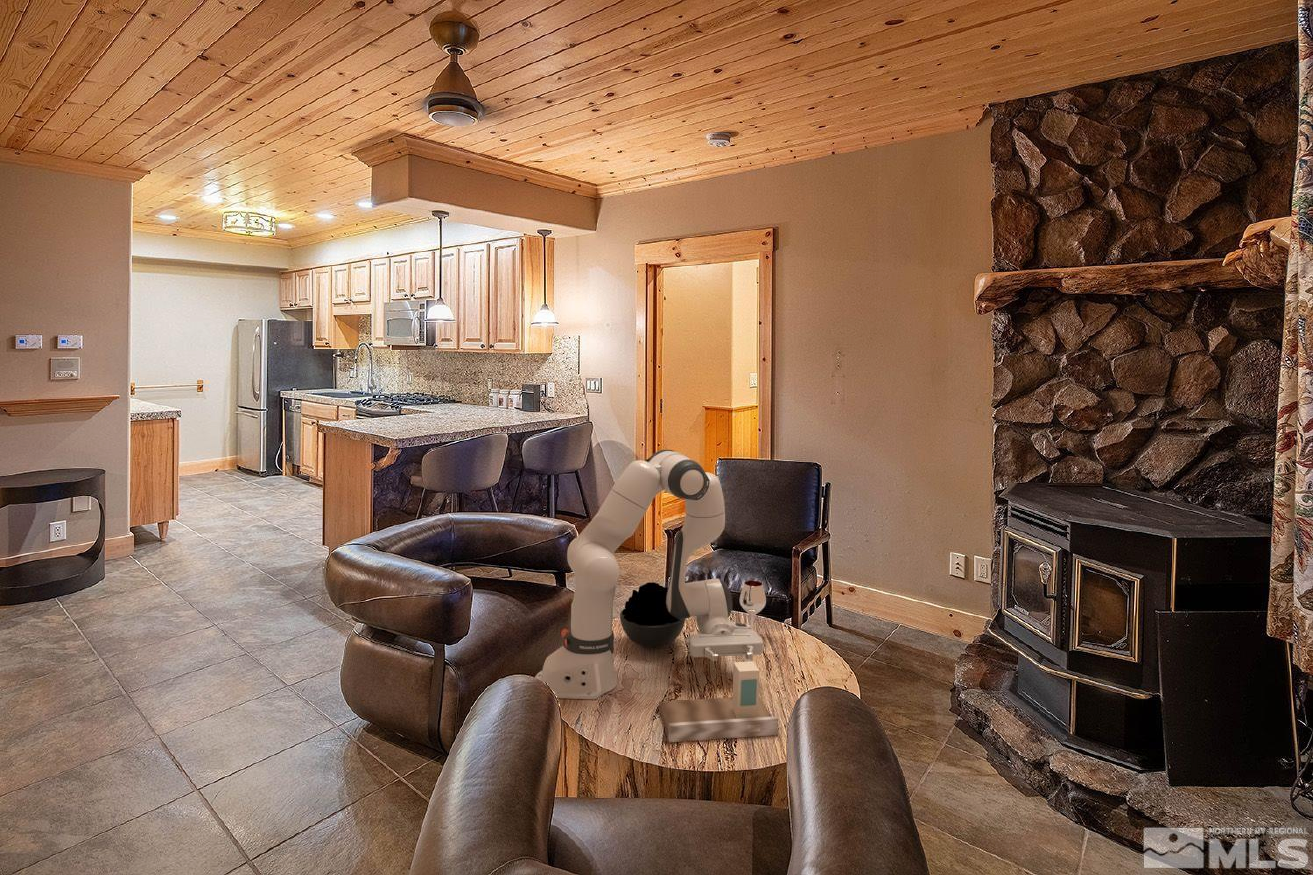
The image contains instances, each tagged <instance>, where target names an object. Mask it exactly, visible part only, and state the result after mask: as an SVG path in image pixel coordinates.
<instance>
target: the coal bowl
mask: <svg viewBox="0 0 1313 875" xmlns="http://www.w3.org/2000/svg"><path fill="white" fill-rule="evenodd" d="M667 591H668V587H666V586H665V587H664V586H663V585H661V584H659V583H657V582H654V581H652V582H651V581H648V582H647V583H645V584H643V585H640V586H638V591H637V590H636V589H633V590H632V594H631V595H630V597H629V598H628V600H626V601H625V602H624V608H623V609H622V610H621V611H620V613H619V618H620V624H621V627H622V630H623V631H624V633H625V635H626V636H627V638H628V639H629V640H630V641H632V642H633V643H634V644H636V645H638V646H640V647H642V648H645V649H650V650H651V649H652V650H653V649H654V650H655V649H661V648H665V647H666V646H668V645H670V644H672V643H673V642H675V641H676V639H677V638H679V636H680V634H681V633H682V631H683V630H684V627H685V624H686V623H685V622H686V619H682V620H679V619H677V618H675V617H674V616H672V615H671V614H670V613H669V612H668V609H667V605H666V597H667Z"/></svg>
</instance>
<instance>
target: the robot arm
mask: <svg viewBox="0 0 1313 875" xmlns="http://www.w3.org/2000/svg"><path fill="white" fill-rule="evenodd" d="M662 491H664V492H666V493H668V494H670V495H673V496H674V497H676V498H678V499H681V500H684V501H685V506H684V507H685V518H684V523H683V525H682V527H681V529H680V530H678V532H676V534H675V537H674V540H673V546H672V554H671V562H670V574H669V582H668V587H667V588H668V591H667V597H666V605H667V609H668V612H669V613H670V614H671V615H672V616H674V617H675V618H677V619H679V620H682V619H685V620H686V619H690V618H691V617H695V624H696V627H697V630H698V632H699V633H698V634H690V636H688V637H686V638H685V639H684V642H685V644H686V646H688V653H689V655H690V656H691V658H707V659H709V660H711V662H718V660H719V659H718V657H735V656H745V659H746V660H747V661H748V660H750V661H751V660H753V659H754V656H755V655H759V656H760V655H762V654H763V653H764V648H765V646H764V640H763V638H762V637H761V635H759V634H758V632H756V631H755V630H754V629H753V630H751V624H748V623H741V622H739V623H738V622H734V621H731V620H728V618H730V616H731V613H732V612H733V598H732V592H731V590H730V588H729V586H728V584H727V583H725V581H724V580H722V579H720V578H718V577H717V578H711V579H710V578H708V579H703V580H697V581H691V582H686V576H687V575H686V573H687V566H688V565H687V564H688V561H689V558H690V557H691V556H692V554H694V553H695V552H696V551H698V550H700V549H701V548H704V547H706V546H707V545H709V544H711V543H713V542H714V541H716V540H717V539H718V538H719V537H720V536H721V535H722V533H723V532H724V530H725V526H726V510H725V509H726V508H725V498H724V493H723V488H722V485H721V481H720V479H719V477H718V476H717V475H716V474H714V473H712V472H708V471H707V472H706V471H705V470H704V468H703V467H702V465H700V464H699V463H698V462H697V461H695V460H692V459H691V458H689V457H688V456H687V455H686V454H684V453H681V452H678V451H675V450H674V449H673V450H672V449H660V450H658V451H655V452H654V453H653V454H652V455H651V456H649V457H648V458H646V459H645V460H641V459H640V460H639V459H638V460H634V461H632V462H631V463H630V464H628V466H627V467H626V468H625V469H624V470H623V472H622V473H621V474H620V476H619V477H618V478H617V480H616V481H615V482H614V484H613V486H612V487H611V489H610V491H609V493H607V496H606V497H605V500H604V501H603V503H602V505H601V506H600V507H599V510H598V511H597V512H596V514H595V515H594V517H593V518H592V519H591V521H589V523H588V524H587V525H586V526H585V528H583V529H582V531H581V532H580V533H579V535H578V536H577V537H575V538H574V539H573V540H571V541H570V543H569V545H568V548H567V553H566V554H567V555H566V556H567V564H568V566H569V567H570V569H571V571H572V572H573V574H574V579H575V580H574V581H575V582H574V584H575V588H574V594H573V600H572V602H571V606H570V608H571V609H570V611H571V612H570V613H571V614H570V631H569V630H568V629H567V628H564V629H562V630H561V637H562V642H563V645H561V646H560V647H559V648H557V650H556V649H555V651H554V652H552V653H551V654H549V655H548V656H547V657H546V658H545V660H544V664H543V666H542V670H540V671H539V672H538V673H537V674H536V675H535V676H534V679H535V678H537V679H539V680H541V681H542V682H546V683H548V686H549V687H550V688H551V689H552V690H553V691H554V692H555V695H556V696H557V698H556V699H573V700H579V699H580V700H596V699H598V698H600V697H601V696H602V695H603V694H606V693H608V692H610V691H612V690H614V689H615V688H616V687H617V686H618V683H619V679H618V677H617V674H616V673H617V672H616V669H615V662H614V650H615V634H614V631H613V618H614V617H613V613H614V610H613V609H614V601H615V600H614V599H615V594H616V589H617V584H618V582H619V581H620V577H621V576H620V575H621V571H620V564H619V562H618V559H617V558H616V556H615V555H614V554H615V552H616V551H617V550H618V548H620V546H621V545H622V544H623V543H624V542H625V541H626V540H628V538H631V537H632V536H633V535H634V533H635V532H636V530H637V528H638V526H639V524H640V523H641V521H642V519H643V517H644V516H645V514H646V512H647V510H648V509H649V507H650V505H651V503H652V501H653V500H654V499H655V497H656V496H657V495H658V494H660V493H661V492H662Z"/></svg>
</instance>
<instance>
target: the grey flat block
mask: <svg viewBox="0 0 1313 875" xmlns="http://www.w3.org/2000/svg"><path fill="white" fill-rule="evenodd" d="M732 697H733V696H731V697H715V698H714V697H713V698H700V699H699V698H698V699H697V698H696V699H681V700H680V699H679V700H664V701H663V700H662V701H659V702H658V711H659V714H660V716H661V720H662V724H663V726H664V730H665V733H666V736H667V739H668V742H669V743H676V742H693V741H695V742H696V741H708V740H722V739H723V738H725V739H736V738H751V737H752V738H753V737H765V736H766V737H767V736H778V735H779V717H778V716H775V715H771V713H770V711H769V710H768V708H767V707H766V705H765V704H764V703H765V702H764V701H763V700H762V698H761V696H760V695H758V718H742V719H737V717H736V715H735V713H734V711H733V709H732ZM723 740H724V739H723Z"/></svg>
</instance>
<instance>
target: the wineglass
mask: <svg viewBox="0 0 1313 875" xmlns="http://www.w3.org/2000/svg"><path fill="white" fill-rule="evenodd" d="M741 588H742V589H741V591H740V596H739V604H740V606H741V607H742V609H743V610H744V611H745V612H746V613H747V614H749V616H750V626H751V630H753V631H754V618H755V616H756V615H757V614H759V613H760V612H762V610H763V609H764V608H765V607H766V603H767V597H766V593H765V589H764V588H765V587H764V583H763V582H762V581H758V580H746V581H744V582H743V586H742V587H741Z"/></svg>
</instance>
